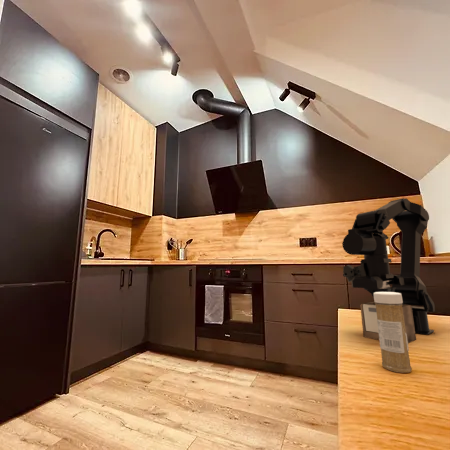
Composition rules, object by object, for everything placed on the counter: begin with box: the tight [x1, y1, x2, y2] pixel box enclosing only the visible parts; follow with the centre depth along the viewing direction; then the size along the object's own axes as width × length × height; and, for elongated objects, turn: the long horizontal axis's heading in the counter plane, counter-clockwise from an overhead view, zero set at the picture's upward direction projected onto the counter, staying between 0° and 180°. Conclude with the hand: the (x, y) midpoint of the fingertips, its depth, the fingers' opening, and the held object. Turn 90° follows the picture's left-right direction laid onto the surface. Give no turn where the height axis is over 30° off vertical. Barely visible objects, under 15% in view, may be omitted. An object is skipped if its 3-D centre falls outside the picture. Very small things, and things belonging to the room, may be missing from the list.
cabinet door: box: [362, 303, 379, 333], centre depth 64 cm, size 1×8×7 cm, turn 37°
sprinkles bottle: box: [373, 292, 413, 374], centre depth 46 cm, size 5×5×13 cm
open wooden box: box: [359, 301, 417, 344], centre depth 66 cm, size 8×10×8 cm
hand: (382, 314), depth 66 cm, fingers closed
